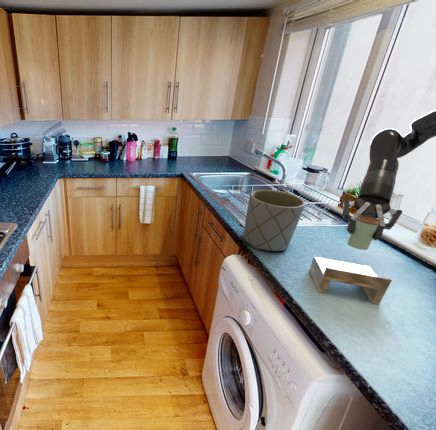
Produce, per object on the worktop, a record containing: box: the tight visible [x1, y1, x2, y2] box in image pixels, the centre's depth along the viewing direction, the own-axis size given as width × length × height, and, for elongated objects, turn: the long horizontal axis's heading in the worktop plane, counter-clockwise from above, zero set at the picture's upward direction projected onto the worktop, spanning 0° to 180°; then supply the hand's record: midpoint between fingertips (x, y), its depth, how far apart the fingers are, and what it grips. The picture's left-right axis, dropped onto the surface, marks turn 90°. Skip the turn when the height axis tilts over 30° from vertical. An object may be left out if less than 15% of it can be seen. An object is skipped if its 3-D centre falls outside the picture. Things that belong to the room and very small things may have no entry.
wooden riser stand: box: [308, 256, 393, 305], centre depth 92 cm, size 16×12×9 cm
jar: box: [346, 215, 381, 251], centre depth 86 cm, size 6×6×9 cm
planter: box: [242, 189, 306, 252], centre depth 115 cm, size 19×19×20 cm
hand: (362, 235), depth 85 cm, fingers closed on jar, 5 cm apart
